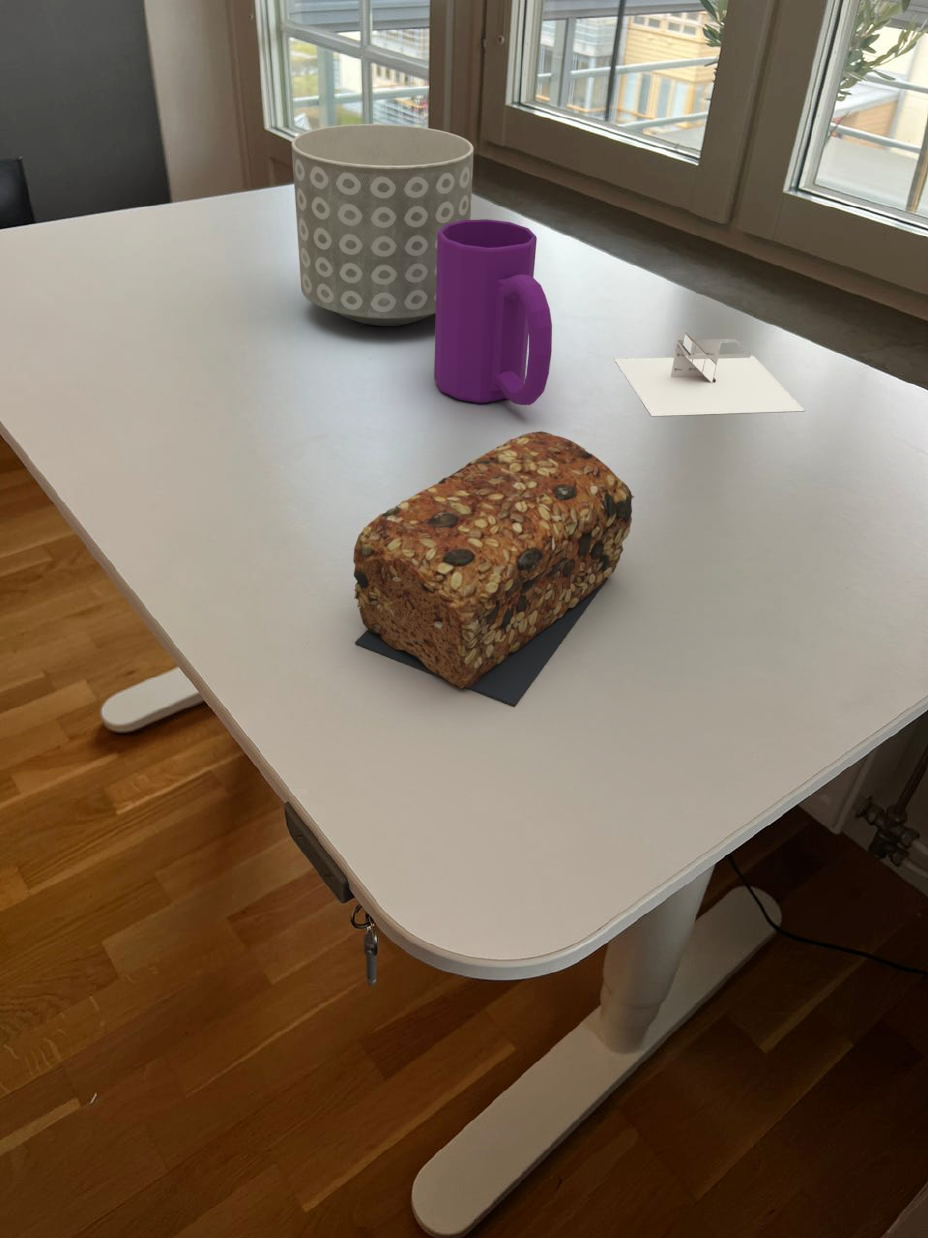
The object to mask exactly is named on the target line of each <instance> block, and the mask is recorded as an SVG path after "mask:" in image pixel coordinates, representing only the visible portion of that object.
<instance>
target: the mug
mask: <svg viewBox="0 0 928 1238" xmlns="http://www.w3.org/2000/svg"><path fill="white" fill-rule="evenodd" d="M537 239H538V237H537V235H536V234H535V233H534V232H533V231H532V230H531V229H530V228H529V227H525V226H522V225H521V224H517V223H513V222H510V221H505V220H496V219H489V218H486V219H485V218H484V219H482V218H481V219H471V220H463V221H459V222H455V223H451V224H447V225H445V226H444V227H443V228H442V229H441V230H440V231H439V232H438V234H437V276H436V313H435V319H434V320H435V323H434V325H435V326H434V328H435V329H434V369H433V376H434V377H433V379H434V381H435V382H436V385H437V387H438V389H439V390H440V391H441V392H442V393H444V394H447V395H449V396H450V397H452V398H455V399H456V400H458V401H464V402H470V403H476V404H484V403H485V404H487V403H491V402H495V401H499V400H504V399H508V400H509V401H511V403H513V404H514V405H522V406H531V405H532V404H535V402H537V400H538V399H539V398H540V397H542V394H544V392H545V390H546V386H547V382H548V378H549V375H550V368H551V361H552V360H551V359H552V350H553V349H552V347H553V346H552V345H553V323H552V314H551V308H550V305H549V302H548V299H547V297H546V294H545V291H544V289H543V287H542V285H541V283H540V282H539V281H537V280H536V278H534V276H535V266H536V265H535V263H536V253H537V243H538V242H537V241H538V240H537Z"/></svg>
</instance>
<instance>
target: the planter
mask: <svg viewBox="0 0 928 1238" xmlns="http://www.w3.org/2000/svg"><path fill="white" fill-rule="evenodd" d="M474 149H475V148H474V146H473V144H472V143H471V142H470V141H469V140H468V139H466V138H465V137H462V136H460V135H458V134H454V133H451V132H448V131H444V130H439V129H435V128H429V127H423V126H416V125H414V126H413V125H404V124H403V125H402V124H391V123H390V124H389V123H355V124H354V123H353V124H352V123H351V124H341V125H332V126H331V125H330V126H325V127H318V128H314V129H311V130H308V131H304V132H302V133H300V134H298V135H296V136H295V137H294V138H293V139H292V140H291V157H292V171H293V172H292V173H293V187H294V201H295V202H294V203H295V218H296V219H295V220H296V229H297V230H296V232H297V245H298V262H299V263H298V264H299V278H300V289H301V292H302V295H303V296H304V297H305V298H306V300H308V301H309V302H311V304H314V305H316V306H318V307H320V308H322V309H325V310H328V311H331V312H334V313H337V314H338V315H340V316H341V317H344V318H347V319H349V320H351V321H355V322H358V323H360V324H363V325H364V324H365V325H368V326H375V327H397V326H404V325H408V324H412V323H416V322H419V321H422V320H424V319H426V318H428V317H431V316H432V315H434V314H436V276H437V234H438V232H439V231H440V230H441V229H442V228H443V227H444V226H445V225H447V224H451V223H455V222H459V221H463V220H472V197H473V196H472V194H473V173H474V151H475V150H474Z"/></svg>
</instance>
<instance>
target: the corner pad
mask: <svg viewBox="0 0 928 1238" xmlns="http://www.w3.org/2000/svg"><path fill="white" fill-rule="evenodd" d="M608 580H609V576H607V577H606V578H605V580H604V581H603V582H602V583H601V584H600V585H599V586H598V587H597V588H596V589H594V590H593V591H592V592H591V593H590V594H589V595H588V596H587V597H586V598H584V599H583V600H581V601H580V602H579V603H578V604H577V605H576V606H574V607H572V608H568V609H567V611H566V612H565V614H564V615H563V616H562V617H561V618H558V619H556V620H555V621H554V622H553V623H552V624H551V625H550V626H548V627H546V628H545V629H544V630H543V631H542V632H540V633H538V634H537V635H535V637H534V638H533V639H530V640H529V641H528V642H527V643H526V644H525V646H524V647H522V648H520V649H519V650H517V651H515V652H513V653H512V654H508V656H507V658H506V659H505V660H504V661H503V662H502V663H500V664H497V665H496V666H494V667H493V668H492V669H490V670H489V671H488V672H486V673H485V674H483V675H482V677H481V678H480V679H479V680H478V681H477V682H475V683H474V684H473V685H472V686H470V687H464V688H466V689H468V690H470V691H473V692H476V693H478V694H481V695H483V696H486V697H488V698H491V699H494V700H496V701H499V702H501V703H503V704H506V705H509V706H511V707H516V706H517V704H518V703H519V701H520V700H521V699H522V697H523V696H524V695H525V693H526V692H527V691H528V690H529V688H530V686H531V685H532V684H533V682H534V681H535V680H536V678H537V676H538V675H539V674H540V673H541V672H542V670H543V668H544V667H545V666H546V665H547V663H548V662H549V661H550V659H551V657H552V656H553V655H554V653H555V652H556V651H557V650H558V648H559V647H560V645H561V644H562V642H563V641H564V640H565V638H566V637H567V636H568V634H569V633H570V632H571V630H572V628H574V626H575V625H576V623H577V622H578V620H579V619H580V618H581V616H582V615H583V614H584V612H585V611H586V610H587V608H589V605H590V604H591V603H592V602H593V600H594V599H595V597H596V596H597V595H598V593H599V592H600V590H601V589H602V588H603V586H604V585H605V584H606V582H607V581H608ZM354 644H355V645H356V646H359V647H361V648H364V649H367V650H369V651H371V652H373V653H377V654H379V655H382V656H384V657H387V658H389V659H392V660H395V661H397V662H399V663H402V664H405V665H407V666H409V667H412V668H414V669H418V670H420V671H422V672H425V673H428V674H429V675H432V676H435V677H438V678H440V679H443V680H446V679H445V678H444V677H443V676H441V675H438V674H436V673H434V672H432V671H431V670H429V669H428V668H427V667H426V666H425V665H424V664H423V662H422V661H421V660H420V659H418V658H417V657H415V656H414V655H411V654H410V653H408V652H407V651H405V650H398V649H395V648H393V647H390V646H389V645H388V644H387V643H386V642H385V641H384V640H383V639H382V638H381V636H380V634H377V633H372V632H370V631H369V630H368V629H366V630H365V631H364V632H363V633H362V634H361V635H360V636H359V637H358V638H357V640H355V641H354ZM446 681H447V680H446Z"/></svg>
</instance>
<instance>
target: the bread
mask: <svg viewBox="0 0 928 1238" xmlns="http://www.w3.org/2000/svg"><path fill="white" fill-rule="evenodd" d="M634 498H635V496H634V495H633V494H632V491H631V489H630V488H629V486H628V485H627V484H626V482H625V481H622V479H620V478H619V477H618V476H617V475H616V474H615V472H613V471H612V469H611V468H610V467H609V466H607V465H606V464H605V463H604V462H602V461H601V460H600V459H599V458H598V457H596V456H595V455H594V454H593V453H590V452H588V451H586V448H584V447H583V446H581V445H579V443H576V442H575V441H572V440H571V439H568V438H565V437H563V436H560V435H555V434H552V433H548V432H547V431H546V432H545V431H541V430H540V431H532V432H527V433H523V434H521V435H520V436H517V437H515V438H510V439H507V441H506V442H505V443H503V444H500V445H497V446H496V447H495V448H493V449H491V450H490V451H488V452H485V453H484V454H482V455H480V456H478V457H477V458H476V459H473V460H471V461H469V462H468V463H467V464H465V465H462V467H461V468H460V469H458V470H457V471H455V472H454V473H452V474H451V475H449V476H445V477H443V478H441V479H440V480H439V481H438V482H437V483H436V484H433V485H432V486H429V487H427V488H425V489H423V490H421V491H419V492H418V493H415V494H414V495H412V496H410V497H409V498H408V499H404V500H402V501H400V503H399V504H396V505H395V506H394V507H392V508H389V509H388V510H386V511H385V512H383V513H380V514H379V515H378V516H377V517H376V518H374V519H373V520H372V521H370V523H368V524H367V525H366V526H365V527H363V528H362V531H361V532H360V533H359V534H358V536H357V540H356V542H355V544H354V548H353V561H352V562H353V564H354V569H353V570H354V571H353V577H354V578H355V580H356V583H355V584H354V586H355V587H354V595H353V596H354V599H355V600H358V602H357V608H359V609H358V611H359V614H360V618H361V621H362V624H363V625H364V626H365V627H366V630H369V631H370V632H372V633H377V634H380V636H381V638H382V639H383V640H384V641H385V642H386V643H387V644H388V645H389V646H390V647H393V648H395V649H398V650H405V651H407V652H408V653H410V654H411V655H414V656H415V657H417V658H418V659H420V660H421V661H422V662H423V664H424V665H425V666H426V667H427V668H428V669H429V670H431V671H432V672H434V673H436V674H438V675H441V676H443V677H444V678H445V679H446V681H447V682H449V684H451V685H452V686H453V685H454V686H455V685H456V686H457V687H458V688H460V689H463V688H465V687H470V686H472V685H473V684H474V683H475V682H477V681H478V680H479V679H480V678H481V677H482V675H483V674H485V673H486V672H488V671H489V670H490V669H492V668H493V667H494V666H496V665H497V664H500V663H502V662H503V661H504V660H505V659H506V658H507V656H508V654H512V653H513V652H515V651H517V650H519V649H520V648H522V647H524V646H525V644H526V643H527V642H528V641H529V640H530V639H533V638H534V637H535V635H537V634H538V633H540V632H542V631H543V630H544V629H545V628H546V627H548V626H550V625H551V624H552V623H553V622H554V621H555V620H556V619H558V618H561V617H562V616H563V615H564V614H565V612H566V611H567V609H568V608H572V607H574V606H576V605H577V604H578V603H579V602H580V601H581V600H583V599H584V598H586V597H587V596H588V595H589V594H590V593H591V592H592V591H593V590H594V589H596V588H597V587H598V586H599V585H600V584H601V583H602V582H603V581H604V580H605V578H606V577H610V576H611V575H613V573H614V572H615V570H616V568H617V565H618V564H619V562H620V561H621V555H622V553H623V552H624V546H623V543H624V541H625V540H626V539H627V538H628V537H629V535H630V533H631V525H632V523H633V518H632V517H633V516H632V514H633V507H632V501H633V499H634ZM445 679H444V680H445Z"/></svg>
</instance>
